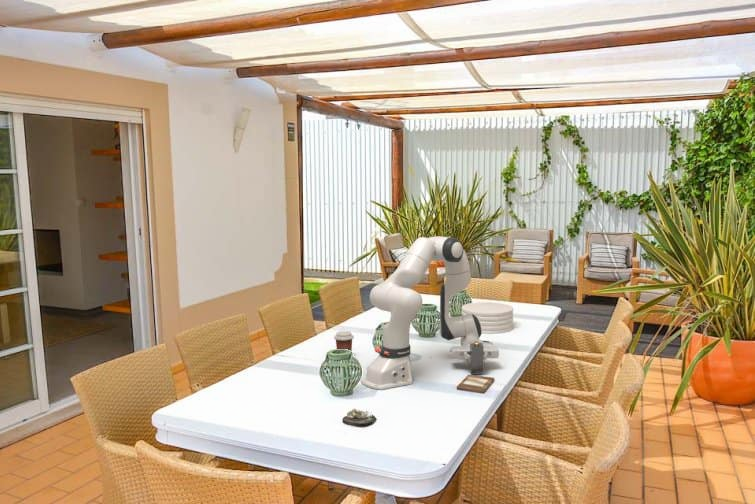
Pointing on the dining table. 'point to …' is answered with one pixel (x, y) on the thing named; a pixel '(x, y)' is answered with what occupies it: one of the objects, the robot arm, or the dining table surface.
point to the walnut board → (475, 383)
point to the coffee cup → (344, 340)
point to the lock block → (476, 358)
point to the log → (359, 418)
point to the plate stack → (491, 316)
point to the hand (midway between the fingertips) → (476, 357)
